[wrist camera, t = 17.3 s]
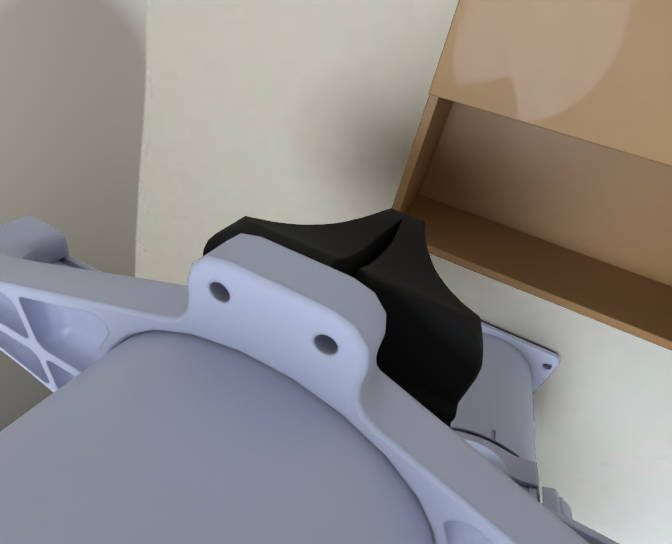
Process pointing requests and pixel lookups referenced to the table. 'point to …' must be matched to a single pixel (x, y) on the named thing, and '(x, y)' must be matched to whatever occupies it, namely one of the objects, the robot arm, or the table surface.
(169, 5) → the table surface
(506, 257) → the carton
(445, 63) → the flap
